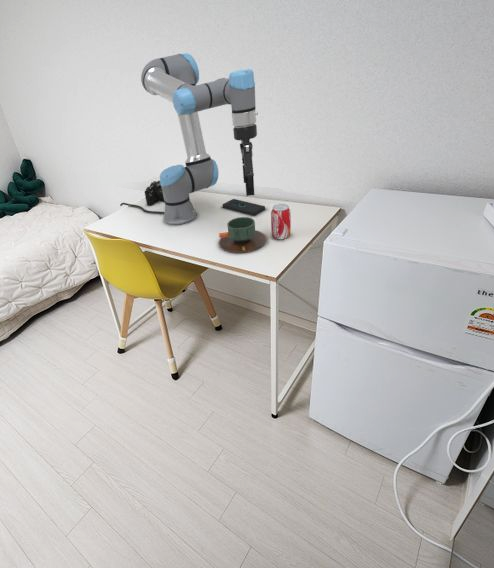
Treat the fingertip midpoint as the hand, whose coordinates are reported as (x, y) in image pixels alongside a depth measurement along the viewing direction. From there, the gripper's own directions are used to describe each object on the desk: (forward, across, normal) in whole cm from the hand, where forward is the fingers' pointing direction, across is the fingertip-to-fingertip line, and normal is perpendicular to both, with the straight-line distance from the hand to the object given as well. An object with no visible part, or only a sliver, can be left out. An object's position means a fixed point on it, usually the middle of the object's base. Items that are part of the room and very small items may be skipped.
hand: (248, 188), depth 125 cm
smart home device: (+21, +31, +2) cm, 37 cm away
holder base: (+20, -1, +4) cm, 21 cm away
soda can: (+21, 0, -11) cm, 23 cm away
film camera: (+21, +57, +44) cm, 75 cm away
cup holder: (+17, -1, +6) cm, 18 cm away
